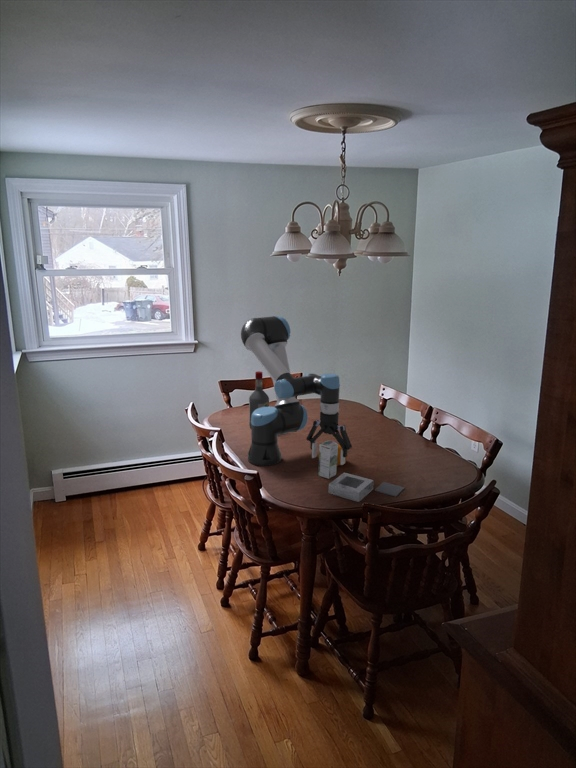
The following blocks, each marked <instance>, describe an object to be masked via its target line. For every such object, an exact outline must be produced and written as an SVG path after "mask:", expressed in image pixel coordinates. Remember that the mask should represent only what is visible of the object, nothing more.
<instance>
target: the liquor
mask: <svg viewBox="0 0 576 768" xmlns="http://www.w3.org/2000/svg"><path fill="white" fill-rule="evenodd" d="M254 374H255V378H254V379H255V389H254V390H253V392H252V393H251V394H250V395H249V397H248V402H249V403H248V409H249V410H248V413H249V417H248V418H249V422H248V423H249V425H248V426H249V427H250V428H249V429H251V416H252V413H253V411H255V410H256V409H258V408H261V407H269V406H270V397H269V395H268V394H267V393H266V392H265V391H264V389H263V376H264V375H263V371H255V373H254Z"/></svg>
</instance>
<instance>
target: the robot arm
mask: <svg viewBox="0 0 576 768" xmlns="http://www.w3.org/2000/svg"><path fill="white" fill-rule="evenodd" d="M290 337H291V328H290V324H289V322H288V321H287V320H286V318H284V317H283V316H274V315H273V316H263V317H253V318H250V319H248V320H247V321H245V322H244V324H243V325H242V327H241V331H240V338H241V342H242V344H243V345H244V347H245V349H246V350H248V351H251V353H252V354H253V355H254V357H255V358H256V359H257V361H258V362H259V363H260V365H261V366H262V367H263V369H264V370H265V371H266V373H267V374H268V375H269V377H270V378H271V380H272V383H273V388H274V389H273V390H274V393H275V397H276V403H275V404H274V406H270V405H269V407H261V408H258V409H256V410H255V411H253V413H252V416H251V428H250V429H251V435H250V436H251V443H250V447H249V449H248V452H247V461H248V463H251V464H253V465H255V466H262V467H263V466H266V467H267V466H272V465H277V464H279V463H280V462H281V461H282V453H281V450H280V447H279V444H278V443H279V442H278V437H279V436H280V435H284V434H290V433H295V432H298V431H301V430H303V429H305V427H306V425H307V423H308V419H309V418H308V410H307V409H306V407H305V406H304V405H302V404H301V402H300V400H299V399H298V398H296V397H299V396H300V397H301V396H304V395H311V394H316V395H319V396H320V403H319V404H320V413H319V419H316V420H314V421H313V422H312V423H313V424H312V426H311V428H310V431H309V433H308V434H307V436H306V439H305V440H306V441H308V442H309V443H310V447H309V448H310V450H311V459H315V458H316V457H317V455H318V453H317V451H318V441H316V440H317V439H319V438H320V436H322V434H323V433H324V434H326V435H330V436H331V435H332V437H334V438H335V439H336V442H337V443H338V444H340V446H341V447H342V450H341V463H340V465H339V466H343V465H344V464H346V462H345V457H347V458H348V456H347V455H348V450H349V451H350V449H352V448H353V446H352V443H351V440H350V437H349V435H348V433H347V430H346V425H345V424H343V425H339V419H340V418H339V417H340V416H339V415H340V414H339V410H340V407H339V406H340V386H341V384H340V377H339V375H338V374H336V373H323V374H321V375H318V374H316V373H310V372H308V373H305V374H304V375H303V376H297V377H294V376H293V375H292V373H291V369H290V365H289V360H288V355H287V349H286V346H287V345H288V340H289V339H290ZM319 426H320V429H319V430H318V432H317V433H316V434H315V432H316V430H317V428H318V427H319ZM314 434H315V435H314Z"/></svg>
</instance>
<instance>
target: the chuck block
mask: <svg viewBox="0 0 576 768" xmlns="http://www.w3.org/2000/svg"><path fill="white" fill-rule="evenodd" d="M374 482H375V481H374V479H370V478H366V477H363V476H359V475H356V474H355V475H354V474H351V473H347V472H343V473H341V474H340V475H339V476H338V477H336V478H334V479H333V480H331V482H329V483H328V494H329V495H332V494H333V496H337V497H339V498H344V499H347V500H350V501H353V502H356V503H357V502H358V503H360V501H362V500H363V499H364V498H365V497H366V496H368V494H369V493H371V492H372V491H373V490H374Z"/></svg>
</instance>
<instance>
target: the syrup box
mask: <svg viewBox="0 0 576 768" xmlns="http://www.w3.org/2000/svg"><path fill="white" fill-rule="evenodd" d="M335 442H336V441H332V440H325V441H323V442H320V443H319V445H318V446H319V447H318V470H317V471H318V472H317V475H318V477H323V478H324V479H327V480H328V479H331V478H333V477H335V476H337V473H338V472H337V471H338V466H337V456H338V444H339V443H338V442H336V443H335Z"/></svg>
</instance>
